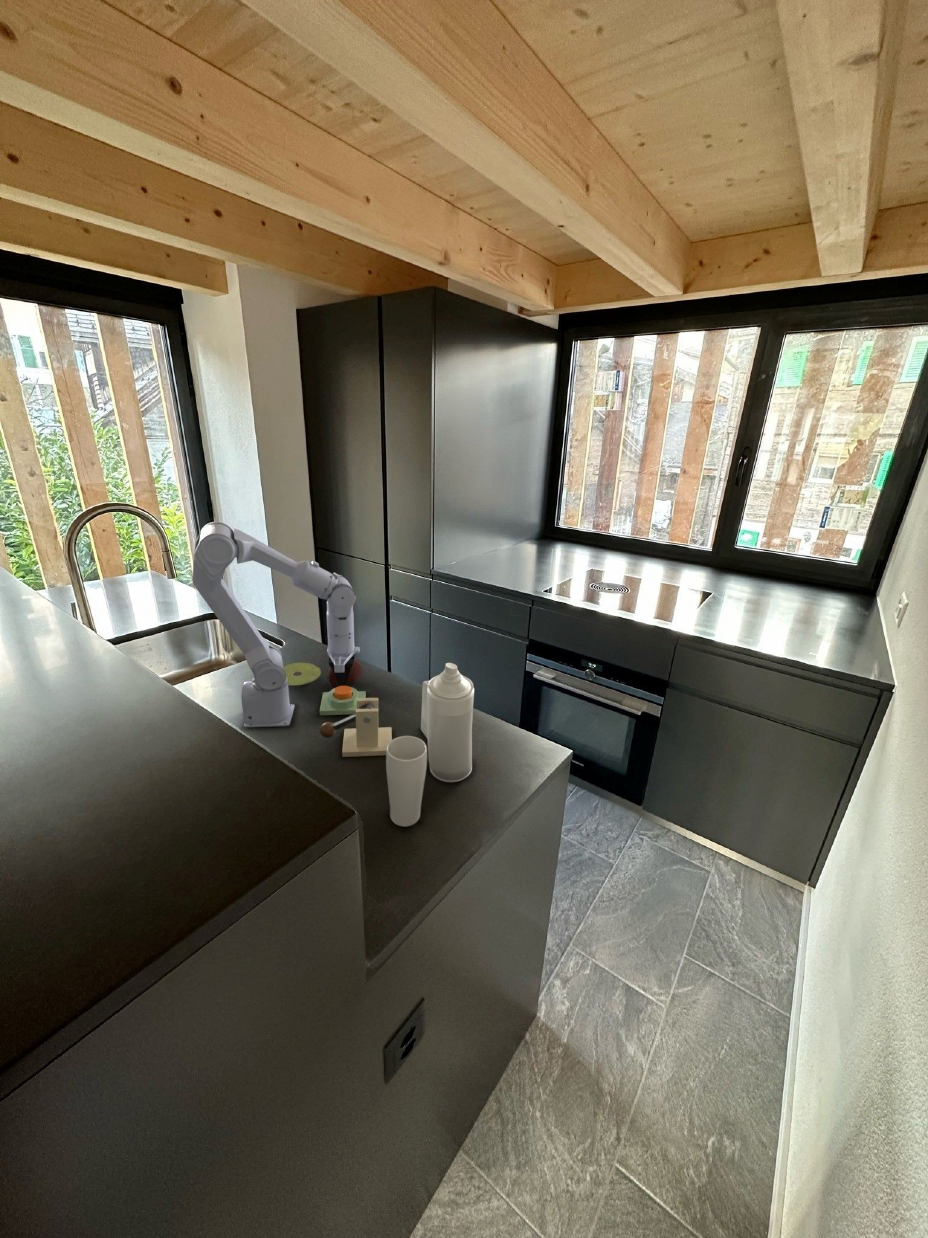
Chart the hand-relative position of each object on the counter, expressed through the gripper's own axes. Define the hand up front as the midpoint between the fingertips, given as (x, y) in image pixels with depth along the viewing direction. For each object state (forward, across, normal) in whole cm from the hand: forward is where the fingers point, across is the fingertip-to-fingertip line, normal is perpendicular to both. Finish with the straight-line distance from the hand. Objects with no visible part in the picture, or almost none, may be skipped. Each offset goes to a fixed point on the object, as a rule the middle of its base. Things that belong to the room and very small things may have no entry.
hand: (342, 684), depth 119 cm
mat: (+6, +12, +12) cm, 18 cm away
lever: (+1, -15, -3) cm, 15 cm away
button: (+3, 0, 0) cm, 3 cm away
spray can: (+6, -25, -22) cm, 34 cm away
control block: (+6, 0, 0) cm, 6 cm away
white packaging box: (+6, -13, -22) cm, 26 cm away
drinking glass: (+6, -36, -13) cm, 39 cm away
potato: (+6, +10, 0) cm, 12 cm away
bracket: (+6, -15, -6) cm, 17 cm away
